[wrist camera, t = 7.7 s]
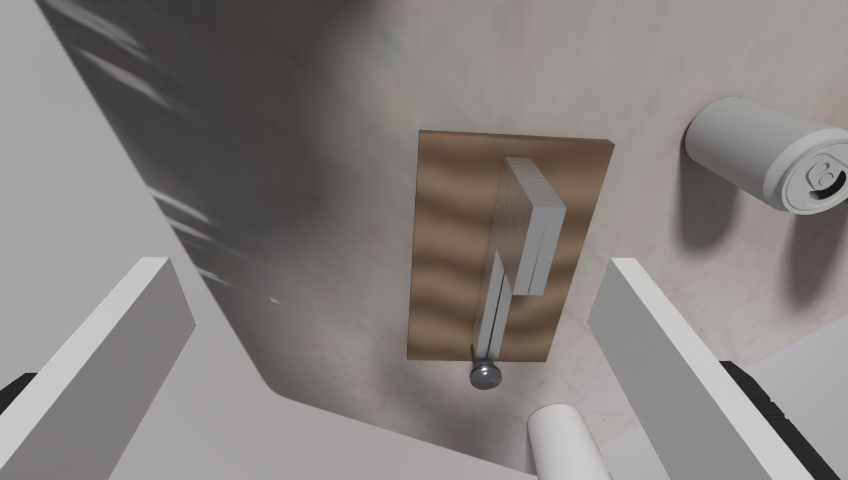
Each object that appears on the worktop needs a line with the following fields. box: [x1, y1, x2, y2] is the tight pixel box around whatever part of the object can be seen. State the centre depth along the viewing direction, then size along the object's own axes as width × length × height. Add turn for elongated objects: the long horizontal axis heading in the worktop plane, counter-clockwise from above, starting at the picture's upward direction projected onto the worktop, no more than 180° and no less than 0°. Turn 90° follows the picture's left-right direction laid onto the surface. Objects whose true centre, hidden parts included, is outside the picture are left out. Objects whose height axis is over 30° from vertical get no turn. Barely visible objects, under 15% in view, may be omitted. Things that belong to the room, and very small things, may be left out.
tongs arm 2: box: [487, 157, 567, 358], centre depth 39 cm, size 23×1×10 cm, turn 177°
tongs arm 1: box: [472, 157, 550, 358], centre depth 39 cm, size 23×1×10 cm, turn 176°
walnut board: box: [407, 130, 615, 362], centre depth 45 cm, size 29×18×2 cm, turn 177°
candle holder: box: [527, 404, 613, 480], centre depth 56 cm, size 10×10×12 cm
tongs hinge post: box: [470, 343, 502, 390], centre depth 48 cm, size 4×4×5 cm
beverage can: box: [685, 97, 848, 215], centre depth 33 cm, size 6×6×12 cm
